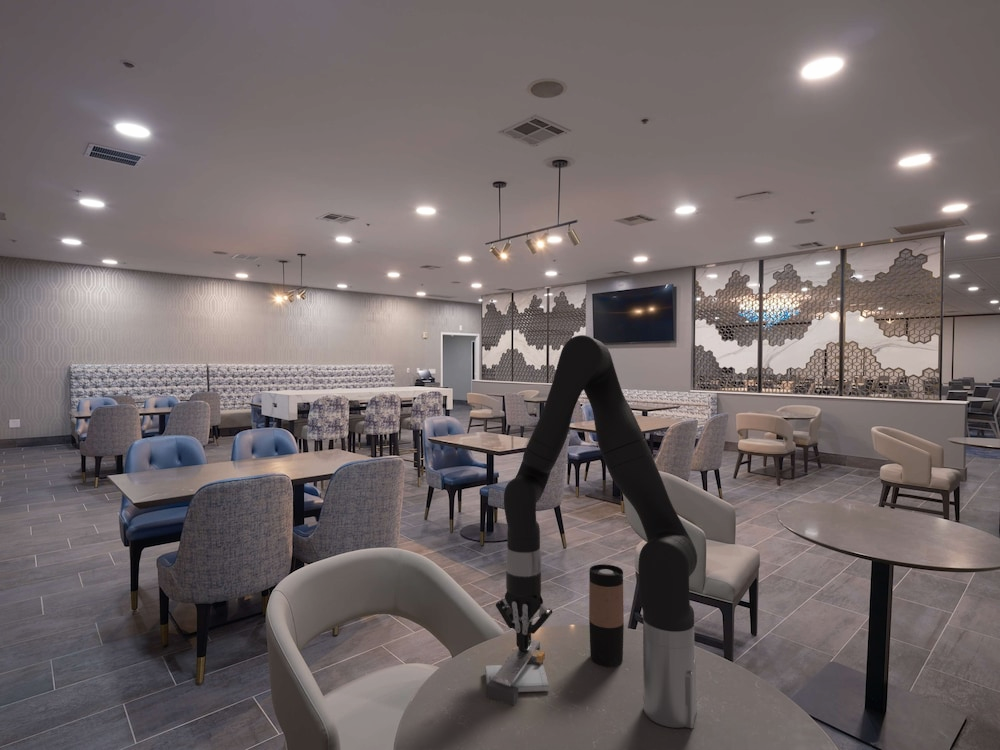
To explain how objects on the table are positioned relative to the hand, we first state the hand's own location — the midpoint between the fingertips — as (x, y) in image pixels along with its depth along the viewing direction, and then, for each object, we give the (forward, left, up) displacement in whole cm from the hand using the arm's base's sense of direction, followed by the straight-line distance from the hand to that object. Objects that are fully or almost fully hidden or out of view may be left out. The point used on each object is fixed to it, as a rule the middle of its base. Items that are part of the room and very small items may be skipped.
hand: (523, 649), depth 114 cm
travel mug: (-14, -14, -5) cm, 21 cm away
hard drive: (0, +4, -5) cm, 7 cm away
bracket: (0, +4, -5) cm, 7 cm away
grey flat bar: (0, +3, -2) cm, 4 cm away
